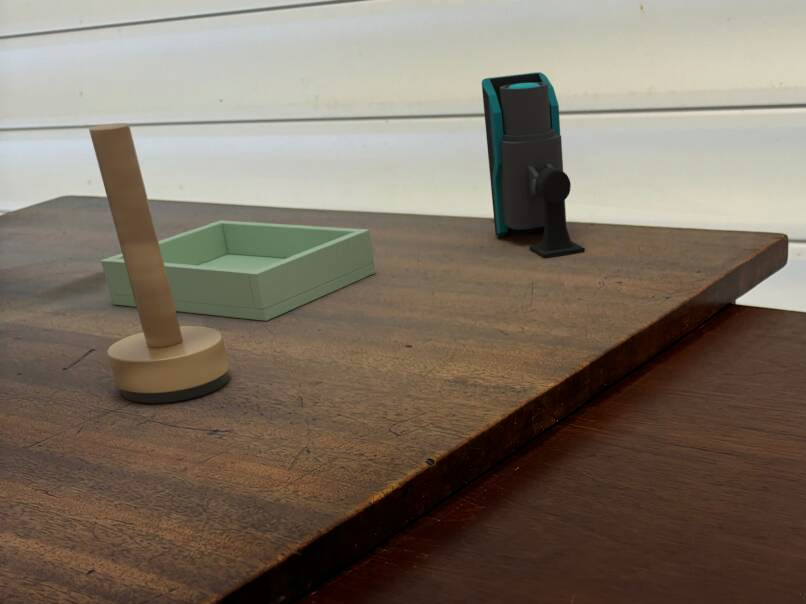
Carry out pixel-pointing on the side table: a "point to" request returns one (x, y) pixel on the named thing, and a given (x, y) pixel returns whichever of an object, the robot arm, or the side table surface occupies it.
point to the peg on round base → (151, 292)
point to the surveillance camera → (527, 160)
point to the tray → (252, 267)
